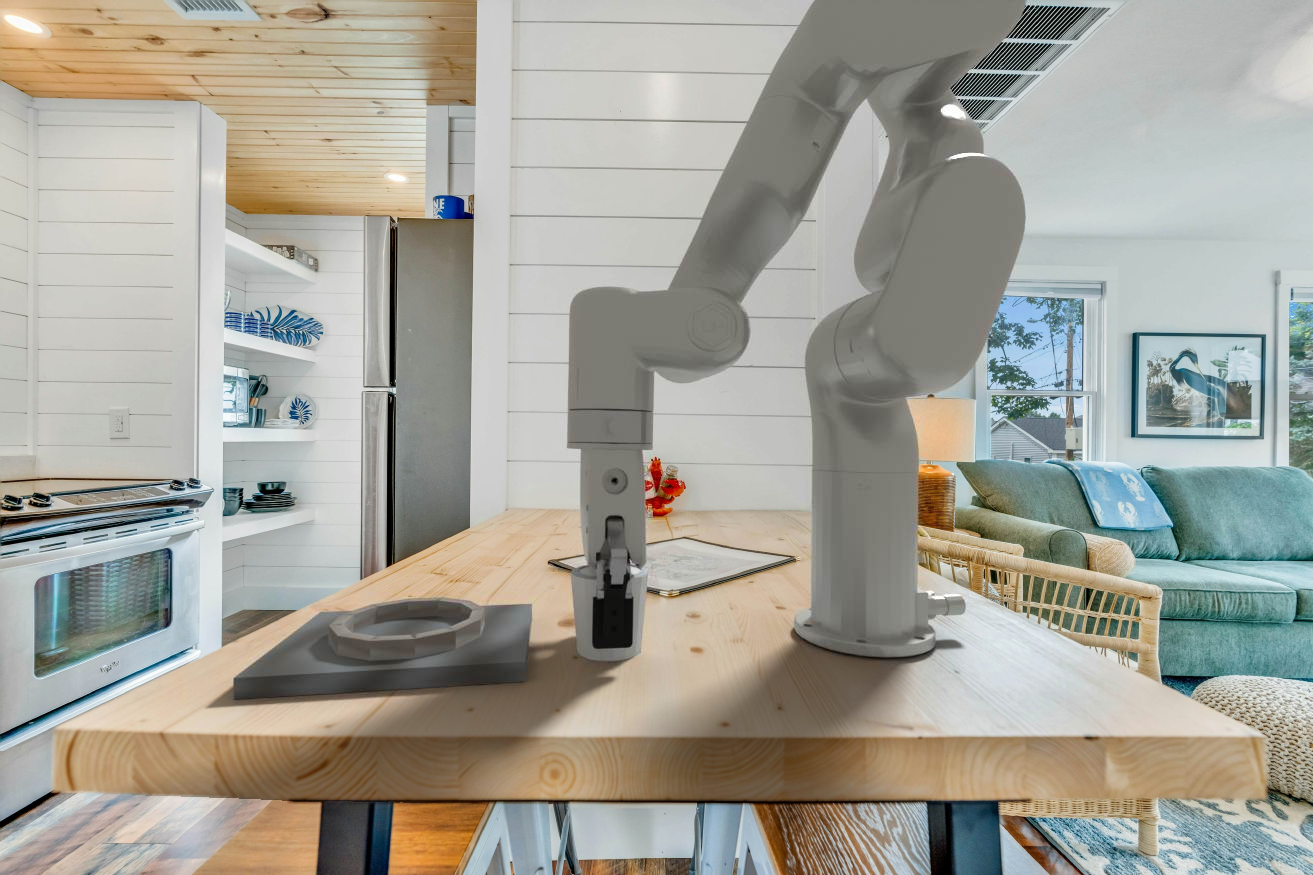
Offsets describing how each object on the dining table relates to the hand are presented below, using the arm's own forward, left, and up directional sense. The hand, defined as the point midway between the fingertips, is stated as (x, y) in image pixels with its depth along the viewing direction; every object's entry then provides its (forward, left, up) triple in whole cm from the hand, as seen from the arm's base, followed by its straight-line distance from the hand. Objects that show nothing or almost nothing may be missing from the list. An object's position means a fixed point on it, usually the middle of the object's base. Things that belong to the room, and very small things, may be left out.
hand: (606, 627), depth 52 cm
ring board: (+17, -2, -2) cm, 17 cm away
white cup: (0, 0, -2) cm, 2 cm away
